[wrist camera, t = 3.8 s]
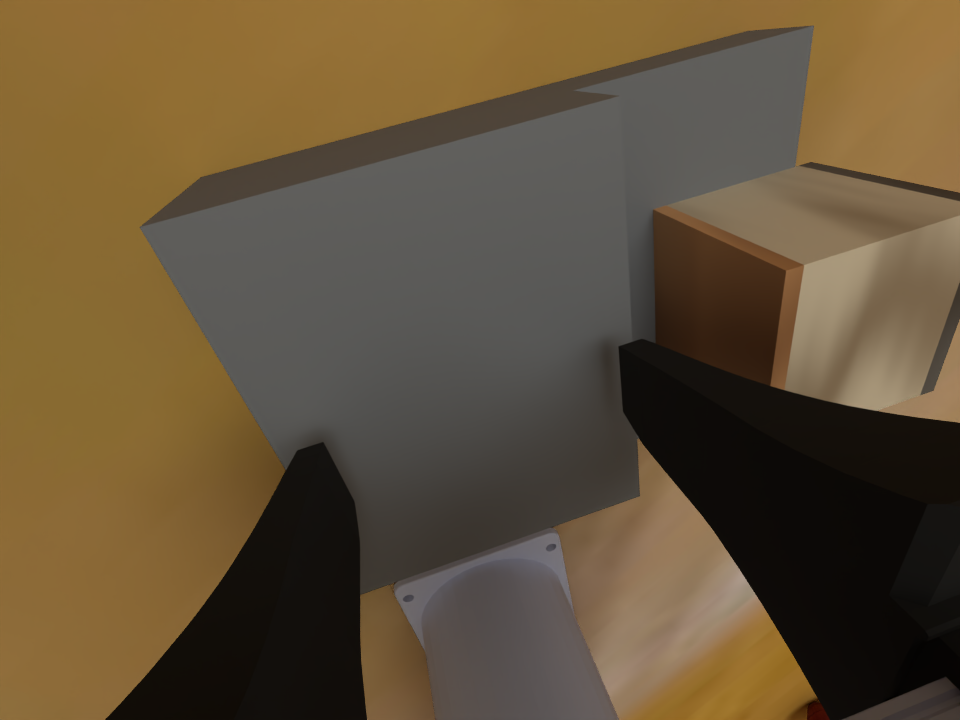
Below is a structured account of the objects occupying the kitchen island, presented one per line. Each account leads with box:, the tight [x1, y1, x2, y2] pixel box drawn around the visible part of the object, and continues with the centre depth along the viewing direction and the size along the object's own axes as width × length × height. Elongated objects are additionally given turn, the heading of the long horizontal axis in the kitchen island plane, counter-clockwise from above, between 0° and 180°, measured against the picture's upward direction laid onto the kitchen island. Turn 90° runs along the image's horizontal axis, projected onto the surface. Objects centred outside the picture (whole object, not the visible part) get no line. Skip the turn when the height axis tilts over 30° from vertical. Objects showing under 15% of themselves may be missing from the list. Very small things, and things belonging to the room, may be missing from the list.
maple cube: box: [653, 162, 960, 411], centre depth 14 cm, size 5×5×5 cm
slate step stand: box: [140, 26, 814, 594], centre depth 15 cm, size 12×16×5 cm
